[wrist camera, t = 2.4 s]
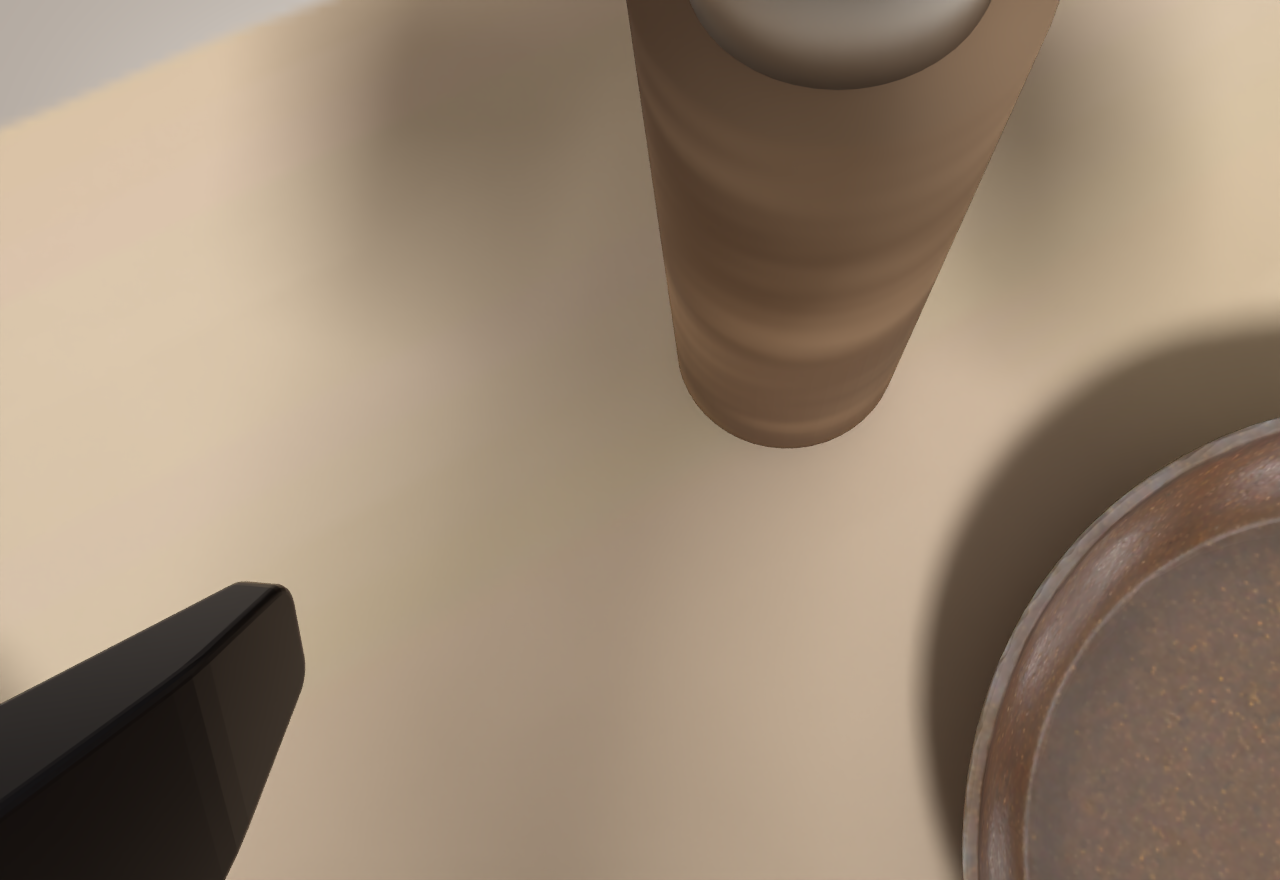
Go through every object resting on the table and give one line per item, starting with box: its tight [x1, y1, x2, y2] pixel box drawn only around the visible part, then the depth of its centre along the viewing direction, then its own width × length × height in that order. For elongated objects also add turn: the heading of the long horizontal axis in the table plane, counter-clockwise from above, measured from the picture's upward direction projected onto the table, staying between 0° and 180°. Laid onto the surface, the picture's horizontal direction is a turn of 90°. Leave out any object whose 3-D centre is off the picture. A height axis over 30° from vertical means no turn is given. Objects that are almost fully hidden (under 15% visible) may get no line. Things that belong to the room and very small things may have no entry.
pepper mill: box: [626, 0, 1059, 448], centre depth 16 cm, size 5×5×14 cm
